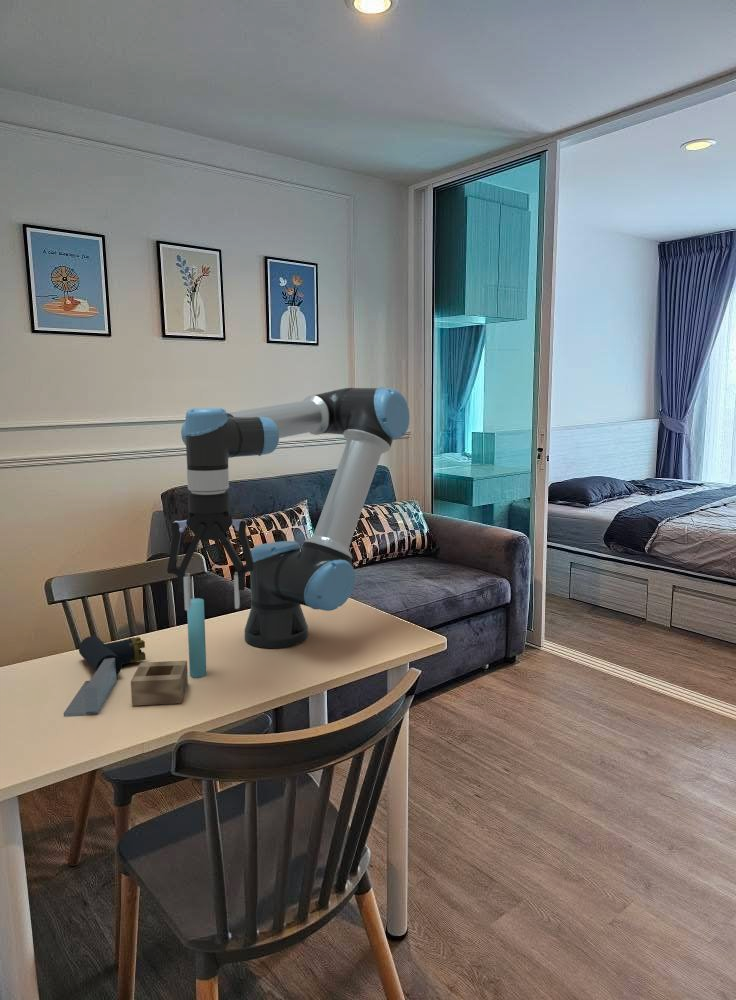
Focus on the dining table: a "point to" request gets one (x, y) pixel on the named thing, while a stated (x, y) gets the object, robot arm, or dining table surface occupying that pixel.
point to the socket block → (159, 683)
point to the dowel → (196, 638)
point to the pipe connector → (111, 651)
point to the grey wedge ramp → (94, 691)
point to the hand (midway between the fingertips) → (212, 607)
